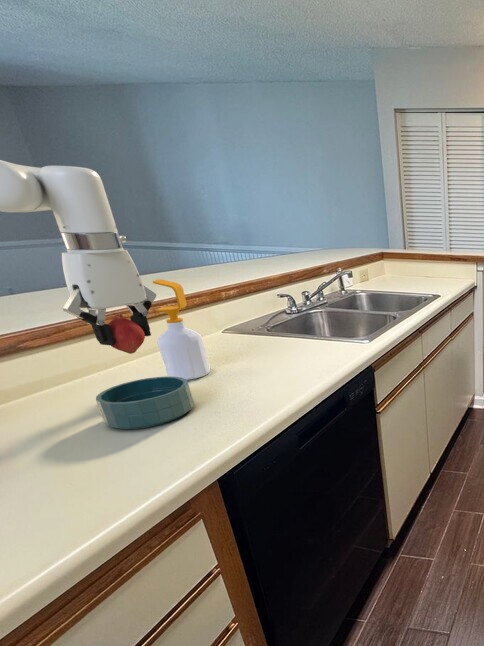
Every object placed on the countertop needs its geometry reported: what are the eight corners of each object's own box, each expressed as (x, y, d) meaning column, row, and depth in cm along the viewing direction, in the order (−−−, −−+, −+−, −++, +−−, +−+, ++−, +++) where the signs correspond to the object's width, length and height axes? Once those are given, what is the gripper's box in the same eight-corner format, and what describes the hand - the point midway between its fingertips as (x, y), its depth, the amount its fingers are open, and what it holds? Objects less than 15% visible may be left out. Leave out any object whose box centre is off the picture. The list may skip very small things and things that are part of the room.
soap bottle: (176, 370, 114) (149, 277, 104) (215, 367, 116) (191, 277, 107) (162, 382, 106) (130, 283, 96) (204, 379, 108) (177, 282, 99)
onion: (104, 359, 80) (89, 317, 77) (121, 350, 85) (108, 311, 82) (140, 357, 82) (127, 316, 79) (155, 348, 87) (143, 310, 84)
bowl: (87, 426, 84) (75, 399, 82) (159, 398, 97) (151, 373, 95) (144, 435, 81) (135, 407, 79) (211, 405, 94) (204, 380, 92)
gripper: (128, 240, 84) (155, 328, 91) (16, 245, 69) (59, 351, 75) (157, 241, 83) (183, 330, 89) (50, 247, 67) (91, 354, 74)
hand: (126, 339), depth 82 cm, fingers closed on onion, 5 cm apart
